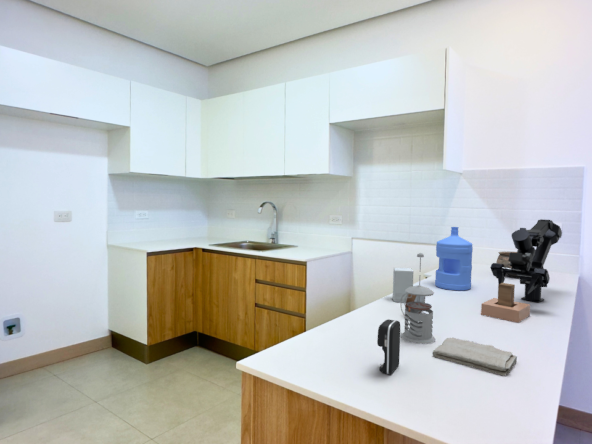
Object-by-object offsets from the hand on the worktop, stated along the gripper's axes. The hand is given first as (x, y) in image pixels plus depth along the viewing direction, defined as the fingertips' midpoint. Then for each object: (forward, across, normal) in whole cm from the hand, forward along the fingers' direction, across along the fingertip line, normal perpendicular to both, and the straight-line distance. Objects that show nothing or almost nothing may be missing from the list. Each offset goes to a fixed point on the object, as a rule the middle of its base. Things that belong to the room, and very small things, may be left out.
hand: (513, 291), depth 140 cm
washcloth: (+44, +8, -33) cm, 55 cm away
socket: (+10, 0, 0) cm, 10 cm away
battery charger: (+58, -4, -48) cm, 76 cm away
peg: (+10, 0, 0) cm, 10 cm away
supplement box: (+17, -35, -7) cm, 40 cm away
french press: (+41, -10, -31) cm, 52 cm away
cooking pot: (-46, -21, +58) cm, 77 cm away
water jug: (-10, -32, +21) cm, 40 cm away
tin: (+26, -22, -15) cm, 38 cm away
